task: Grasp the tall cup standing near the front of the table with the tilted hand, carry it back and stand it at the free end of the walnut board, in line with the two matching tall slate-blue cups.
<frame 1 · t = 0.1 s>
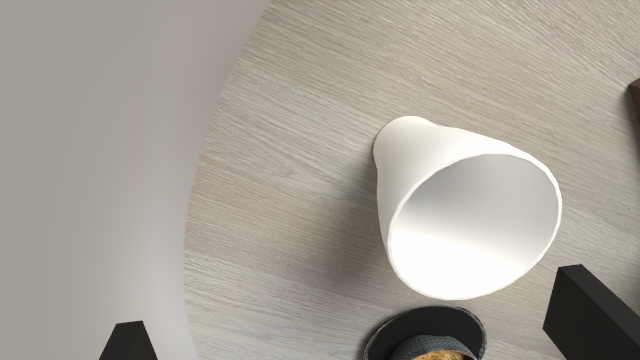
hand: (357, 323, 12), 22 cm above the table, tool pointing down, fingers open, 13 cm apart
cup: (405, 147, 34), on the table
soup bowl: (416, 344, 46), on the table
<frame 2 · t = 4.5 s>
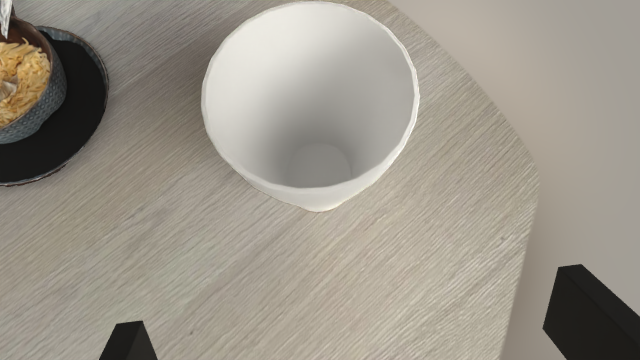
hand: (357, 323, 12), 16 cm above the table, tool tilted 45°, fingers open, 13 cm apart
cup: (318, 176, 31), on the table
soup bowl: (37, 104, 34), on the table
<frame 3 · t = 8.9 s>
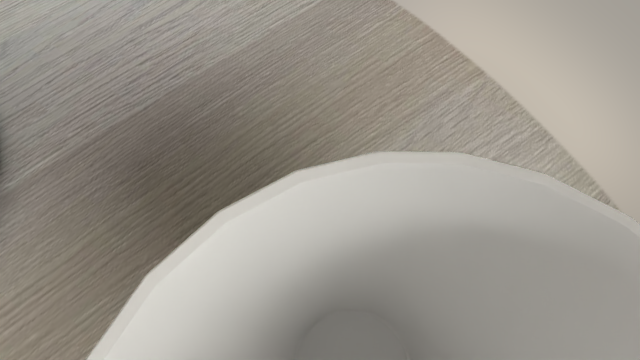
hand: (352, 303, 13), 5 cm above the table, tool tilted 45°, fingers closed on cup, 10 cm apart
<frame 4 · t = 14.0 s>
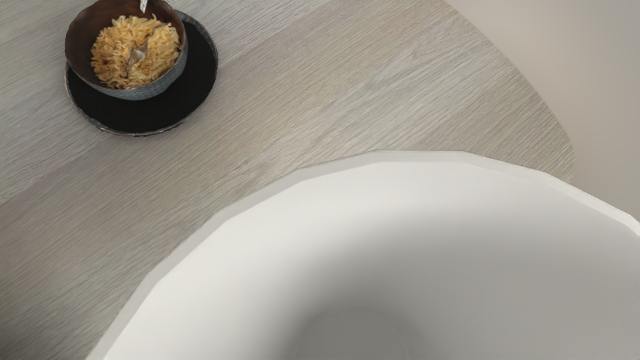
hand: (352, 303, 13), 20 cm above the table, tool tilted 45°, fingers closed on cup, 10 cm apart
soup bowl: (152, 71, 40), on the table
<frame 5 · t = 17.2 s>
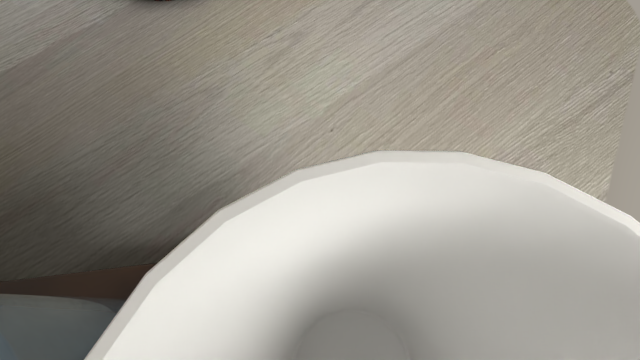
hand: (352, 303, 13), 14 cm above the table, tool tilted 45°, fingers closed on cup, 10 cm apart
when the fingers open (7 cm above the table, at t = 19.6 s): cup stays where it is, resting on walnut board.
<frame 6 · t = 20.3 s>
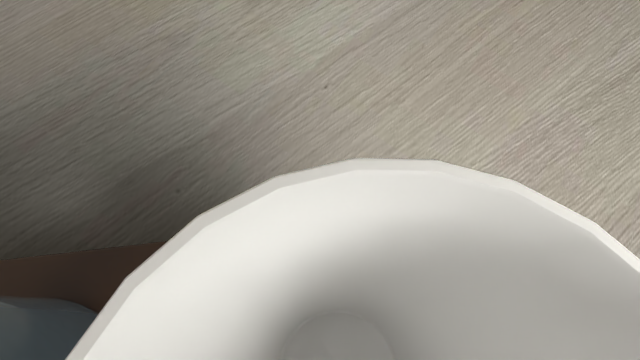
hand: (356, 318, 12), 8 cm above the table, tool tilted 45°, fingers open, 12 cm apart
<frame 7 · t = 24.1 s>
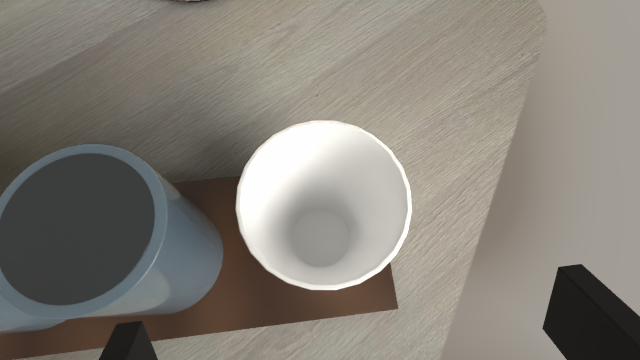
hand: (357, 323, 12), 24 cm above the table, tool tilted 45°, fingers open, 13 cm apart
slate cup a: (168, 256, 35), resting on walnut board
walnut board: (189, 256, 36), on the table
cup: (320, 238, 35), point 1 cm above the table, touching walnut board
slate cup b: (43, 271, 34), resting on walnut board
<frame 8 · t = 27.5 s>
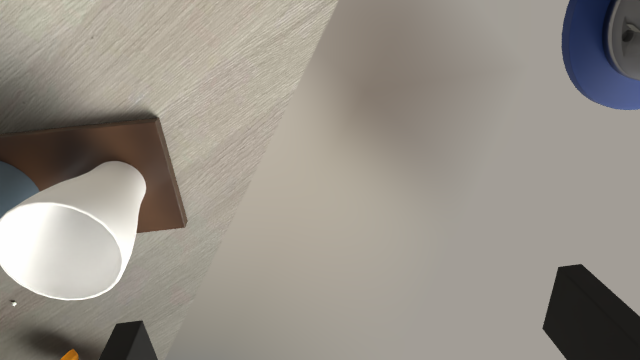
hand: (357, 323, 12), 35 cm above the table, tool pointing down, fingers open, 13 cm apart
walnut board: (17, 190, 45), on the table
cup: (120, 183, 45), point 1 cm above the table, touching walnut board
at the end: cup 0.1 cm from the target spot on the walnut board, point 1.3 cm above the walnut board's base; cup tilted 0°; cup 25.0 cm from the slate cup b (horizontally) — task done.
